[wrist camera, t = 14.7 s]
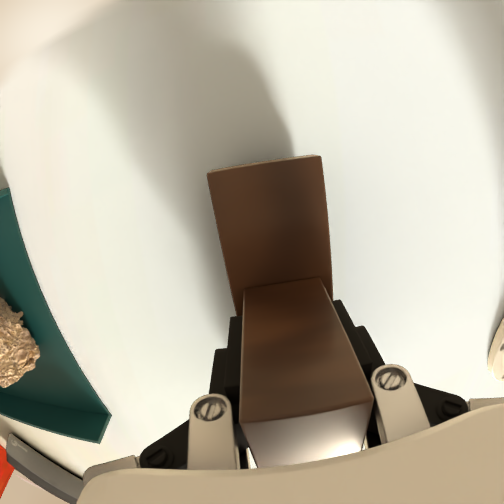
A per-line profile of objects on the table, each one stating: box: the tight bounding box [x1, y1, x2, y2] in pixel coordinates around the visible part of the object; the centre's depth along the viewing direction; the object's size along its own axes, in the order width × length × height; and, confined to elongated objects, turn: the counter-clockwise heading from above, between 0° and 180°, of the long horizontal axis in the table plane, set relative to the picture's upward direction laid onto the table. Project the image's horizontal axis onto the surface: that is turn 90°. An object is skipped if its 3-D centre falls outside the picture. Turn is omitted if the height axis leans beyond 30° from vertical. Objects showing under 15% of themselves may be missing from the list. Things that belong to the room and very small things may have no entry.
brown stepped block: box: [207, 155, 374, 468], centre depth 10 cm, size 4×14×9 cm, turn 9°
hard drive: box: [6, 433, 84, 504], centre depth 25 cm, size 13×19×4 cm
